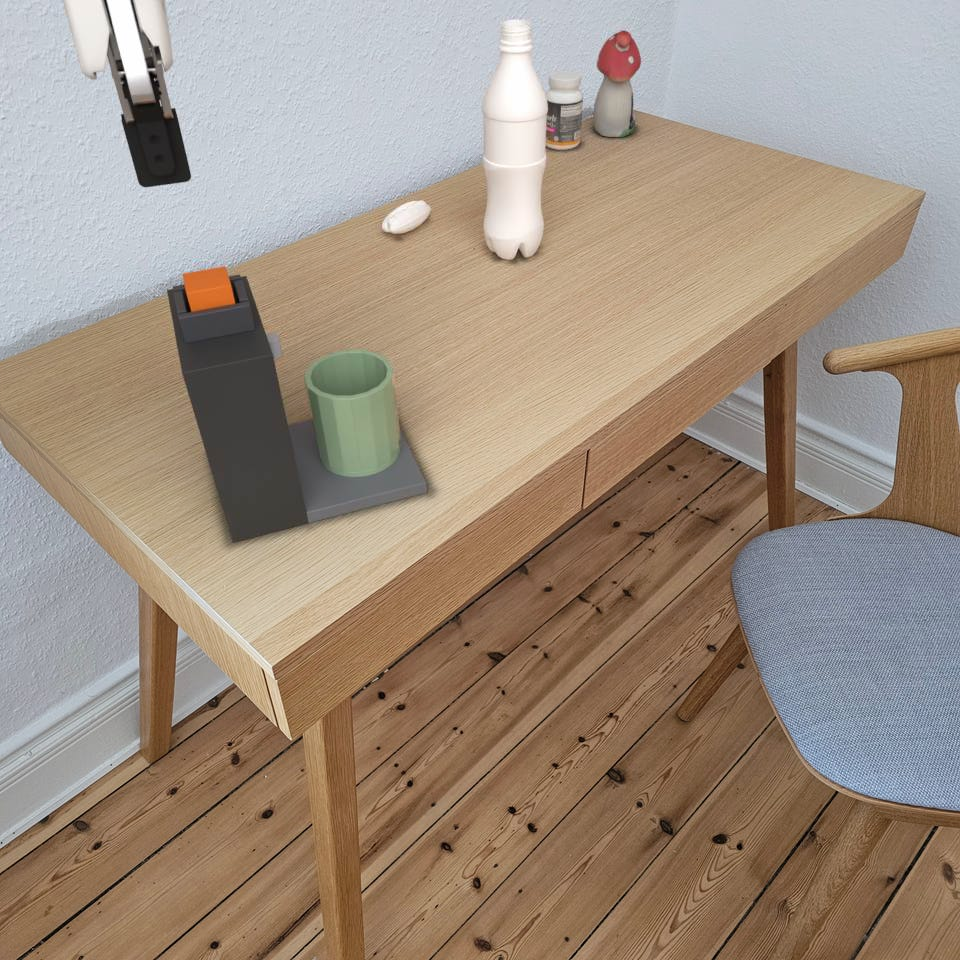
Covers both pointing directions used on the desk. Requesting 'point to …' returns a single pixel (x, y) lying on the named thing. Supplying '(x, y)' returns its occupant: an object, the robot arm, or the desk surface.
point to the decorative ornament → (616, 86)
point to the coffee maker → (264, 426)
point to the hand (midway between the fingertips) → (165, 179)
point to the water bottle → (514, 147)
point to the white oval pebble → (406, 217)
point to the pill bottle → (564, 110)
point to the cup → (354, 412)
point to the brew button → (208, 289)
